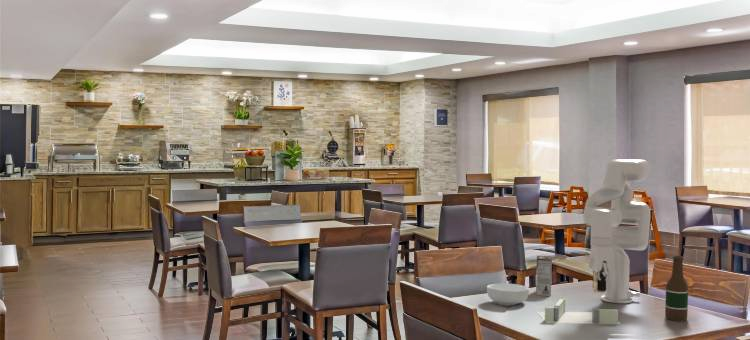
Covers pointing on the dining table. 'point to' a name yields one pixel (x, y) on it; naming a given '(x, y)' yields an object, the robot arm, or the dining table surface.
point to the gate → (561, 306)
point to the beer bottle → (677, 293)
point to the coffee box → (543, 275)
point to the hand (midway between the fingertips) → (599, 288)
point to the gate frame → (581, 316)
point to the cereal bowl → (507, 293)
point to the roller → (596, 282)
